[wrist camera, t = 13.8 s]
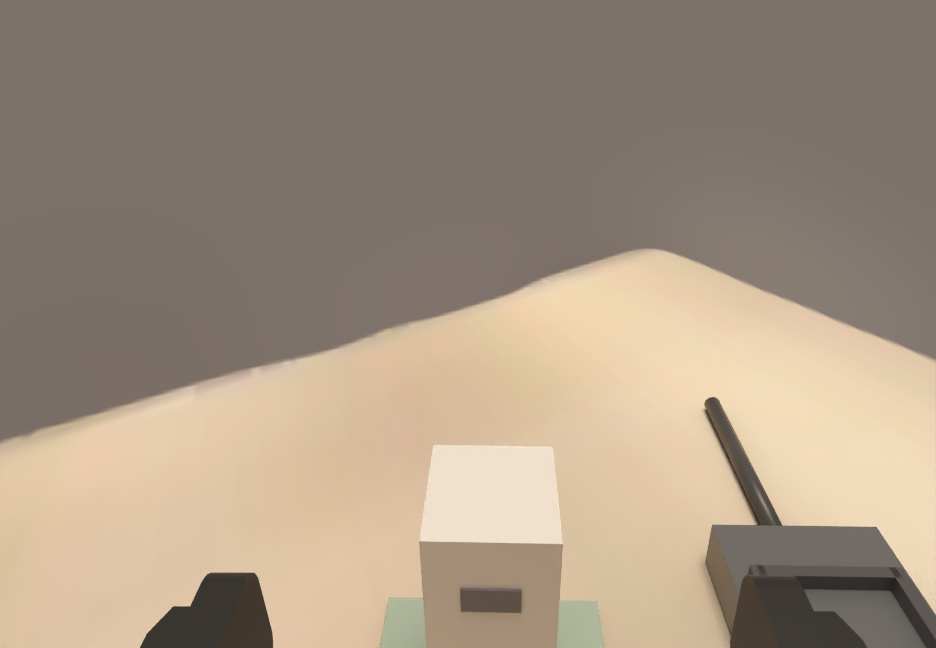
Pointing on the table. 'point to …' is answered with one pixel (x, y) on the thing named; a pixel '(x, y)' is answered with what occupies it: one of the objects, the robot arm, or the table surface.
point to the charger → (491, 548)
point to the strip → (817, 563)
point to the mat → (574, 639)
